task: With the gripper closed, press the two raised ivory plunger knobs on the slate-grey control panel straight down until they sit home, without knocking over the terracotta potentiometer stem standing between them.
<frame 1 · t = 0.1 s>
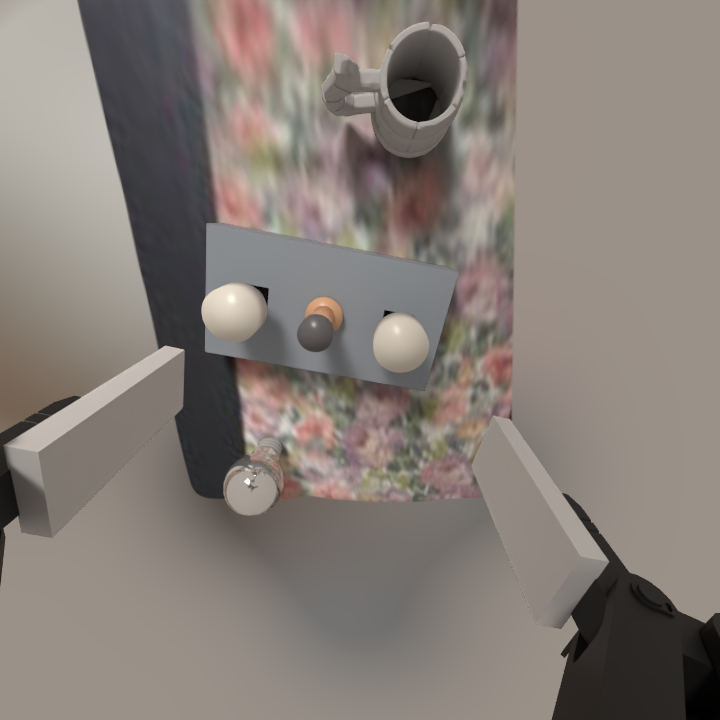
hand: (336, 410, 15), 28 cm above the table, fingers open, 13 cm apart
knob 1: (243, 306, 35), point 7 cm above the table, slide at 3.0 cm
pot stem: (324, 314, 38), point 4 cm above the table, touching panel
light bulb: (273, 440, 49), on the table
panel: (329, 305, 41), on the table
mug: (388, 115, 34), on the table
knob 2: (398, 335, 35), point 7 cm above the table, slide at 3.0 cm
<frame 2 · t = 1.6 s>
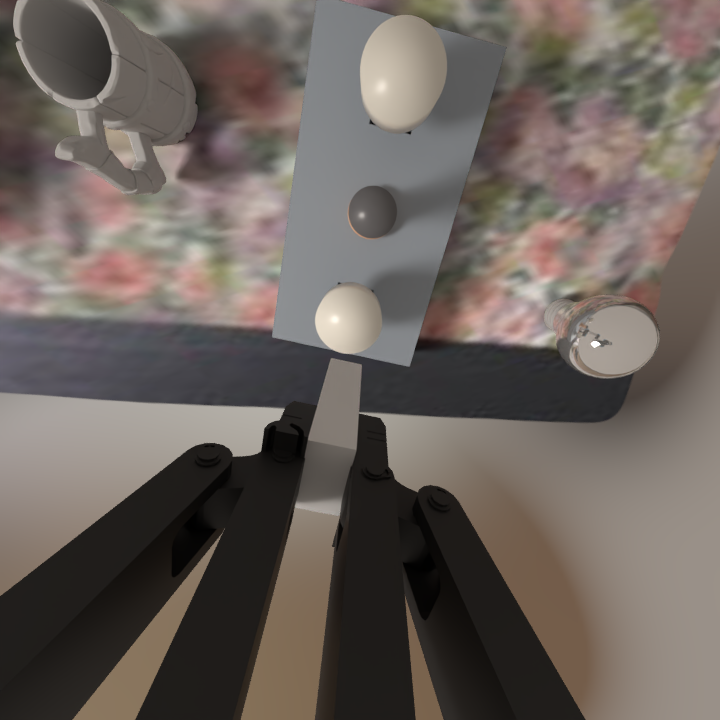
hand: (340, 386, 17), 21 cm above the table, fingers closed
knob 1: (350, 311, 30), point 7 cm above the table, slide at 3.0 cm
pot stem: (371, 214, 29), point 4 cm above the table, touching panel
light bulb: (552, 311, 37), on the table
panel: (371, 214, 33), on the table
mug: (162, 126, 31), on the table
knob 2: (398, 91, 24), point 7 cm above the table, slide at 3.0 cm
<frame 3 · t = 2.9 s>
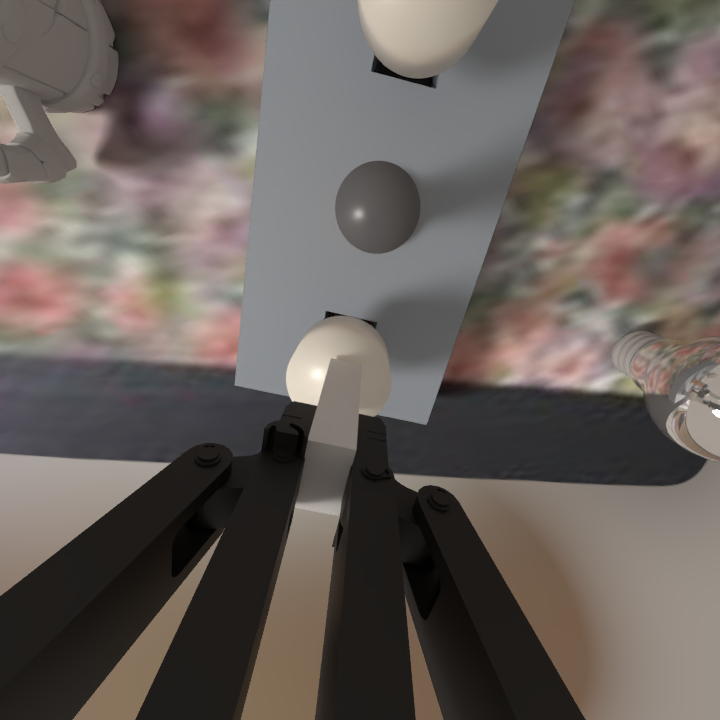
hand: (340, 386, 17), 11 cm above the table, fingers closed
knob 1: (343, 356, 20), point 7 cm above the table, slide at 3.0 cm, touching gripper
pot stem: (374, 212, 20), point 4 cm above the table, touching panel
light bulb: (620, 345, 27), on the table
panel: (373, 213, 23), on the table
mug: (70, 85, 21), on the table
knob 2: (421, 4, 14), point 7 cm above the table, slide at 3.0 cm
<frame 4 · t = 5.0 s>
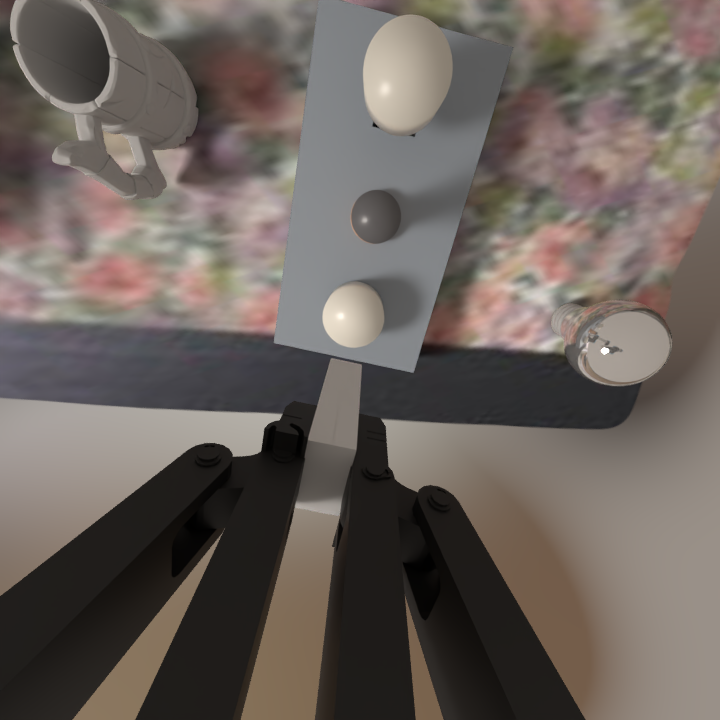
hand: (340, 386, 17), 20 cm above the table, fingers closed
knob 1: (355, 308, 32), point 4 cm above the table, slide at 0.0 cm
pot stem: (374, 218, 29), point 4 cm above the table, touching panel
light bulb: (559, 315, 36), on the table
panel: (374, 218, 33), on the table
mug: (163, 130, 31), on the table
knob 2: (402, 93, 23), point 7 cm above the table, slide at 3.0 cm
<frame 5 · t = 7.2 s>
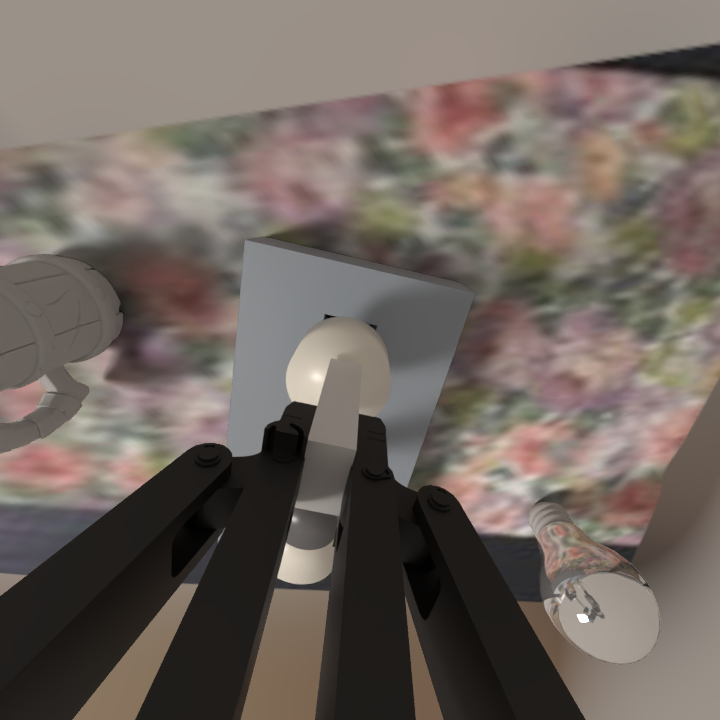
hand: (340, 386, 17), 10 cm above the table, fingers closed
knob 1: (306, 521, 28), point 4 cm above the table, slide at 0.0 cm
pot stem: (323, 444, 25), point 4 cm above the table, touching panel
light bulb: (539, 504, 32), on the table
panel: (329, 415, 29), on the table
mug: (85, 330, 27), on the table
knob 2: (343, 357, 20), point 6 cm above the table, slide at 2.4 cm, touching gripper
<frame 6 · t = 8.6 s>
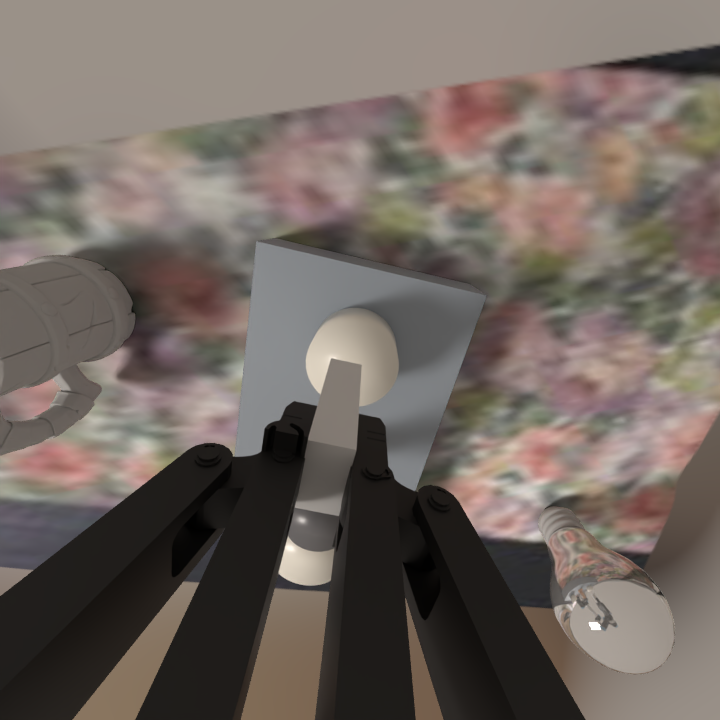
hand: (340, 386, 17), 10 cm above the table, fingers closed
knob 1: (314, 522, 28), point 4 cm above the table, slide at 0.0 cm
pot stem: (332, 446, 25), point 4 cm above the table, touching panel
light bulb: (549, 508, 32), on the table
panel: (337, 417, 29), on the table
mug: (98, 330, 27), on the table
knob 2: (355, 345, 22), point 4 cm above the table, slide at 0.0 cm
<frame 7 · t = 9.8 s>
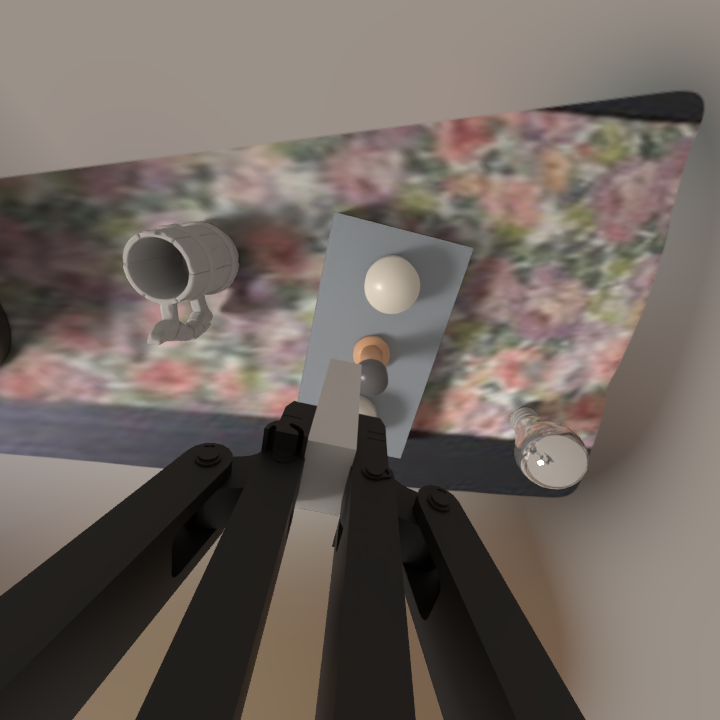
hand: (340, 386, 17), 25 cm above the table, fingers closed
knob 1: (355, 411, 41), point 4 cm above the table, slide at 0.0 cm
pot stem: (371, 352, 38), point 4 cm above the table, touching panel
light bulb: (518, 412, 45), on the table
panel: (371, 340, 42), on the table
mug: (211, 275, 40), on the table
knob 2: (390, 280, 35), point 4 cm above the table, slide at 0.0 cm
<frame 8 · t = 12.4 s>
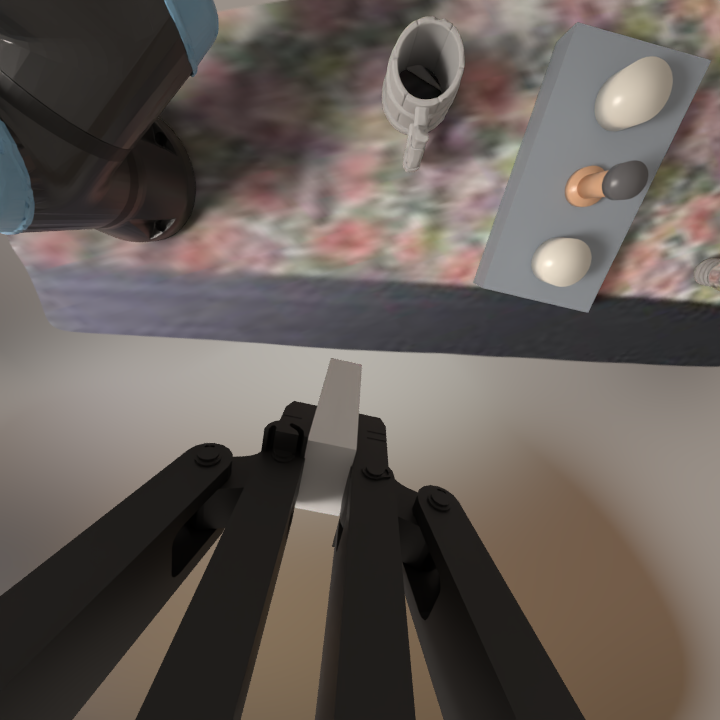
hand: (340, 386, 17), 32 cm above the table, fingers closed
knob 1: (551, 259, 41), point 4 cm above the table, slide at 0.0 cm
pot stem: (583, 187, 38), point 4 cm above the table, touching panel
light bulb: (697, 270, 45), on the table
panel: (564, 190, 42), on the table
mug: (412, 120, 40), on the table
knob 2: (617, 103, 35), point 4 cm above the table, slide at 0.0 cm
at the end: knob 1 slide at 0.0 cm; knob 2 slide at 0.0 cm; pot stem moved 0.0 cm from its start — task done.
